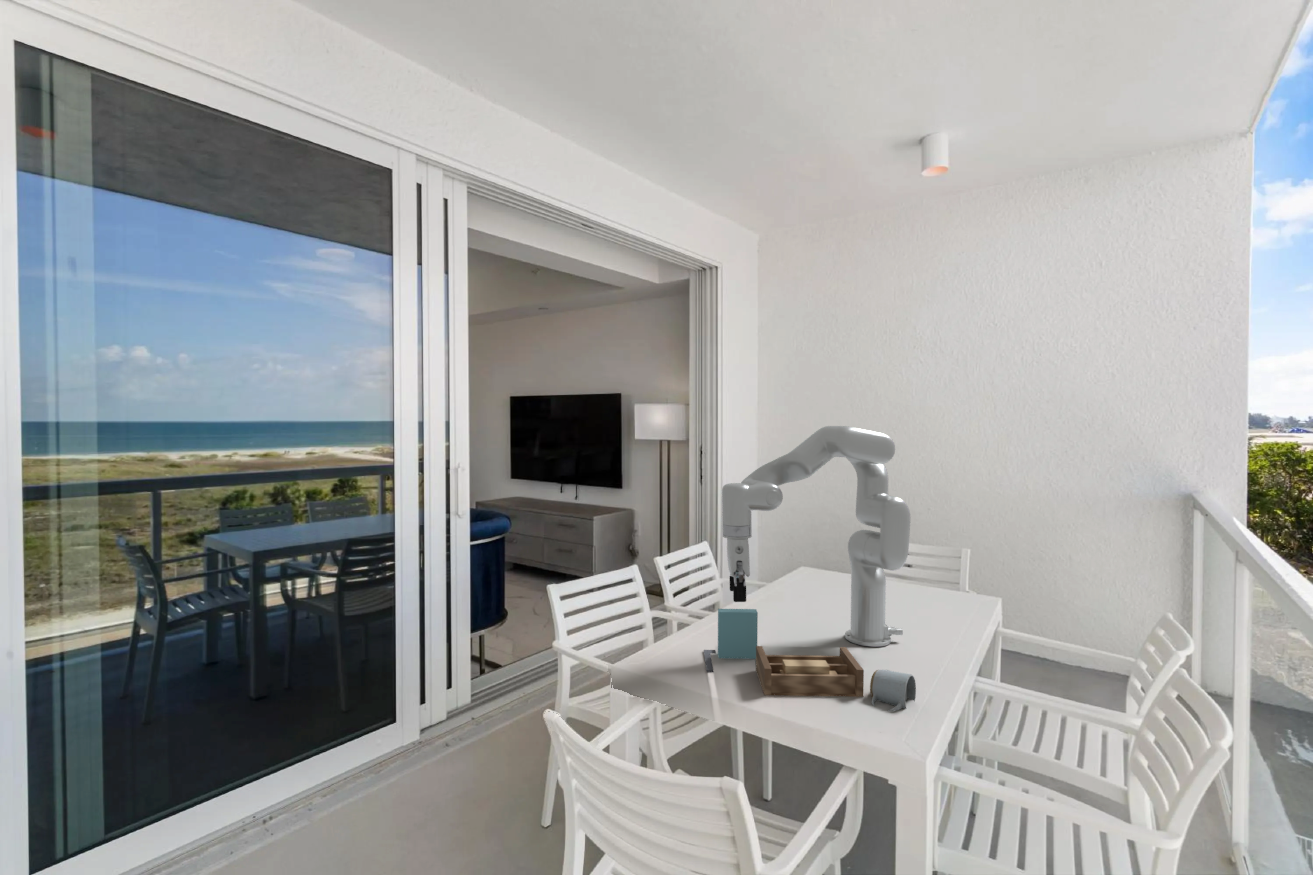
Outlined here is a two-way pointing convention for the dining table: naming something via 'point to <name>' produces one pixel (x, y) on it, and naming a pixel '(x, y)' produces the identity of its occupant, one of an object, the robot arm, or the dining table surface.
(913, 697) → the ceramic mug
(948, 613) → the dining table surface
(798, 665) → the oak offcuts
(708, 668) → the gray l-shaped bracket
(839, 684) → the walnut rack
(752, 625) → the teal rectangular block
